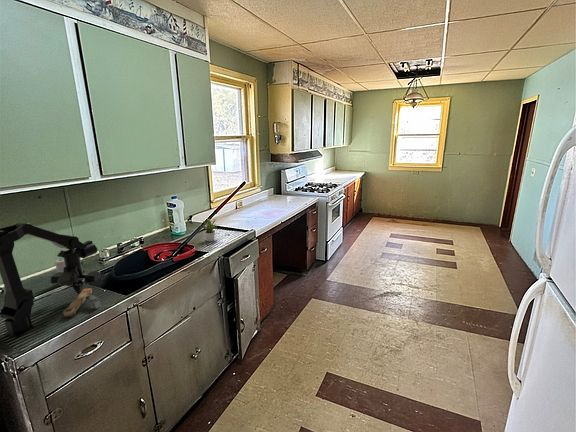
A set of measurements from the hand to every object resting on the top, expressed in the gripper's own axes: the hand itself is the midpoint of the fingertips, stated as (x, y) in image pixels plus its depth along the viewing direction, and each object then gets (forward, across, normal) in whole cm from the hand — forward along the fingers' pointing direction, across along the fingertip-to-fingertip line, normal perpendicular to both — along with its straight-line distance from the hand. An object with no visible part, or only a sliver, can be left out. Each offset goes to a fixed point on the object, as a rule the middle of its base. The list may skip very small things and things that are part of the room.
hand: (79, 294), depth 136 cm
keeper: (+2, +10, -7) cm, 12 cm away
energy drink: (+3, -16, +16) cm, 23 cm away
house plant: (+3, +46, +75) cm, 88 cm away
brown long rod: (+1, +3, -6) cm, 7 cm away
